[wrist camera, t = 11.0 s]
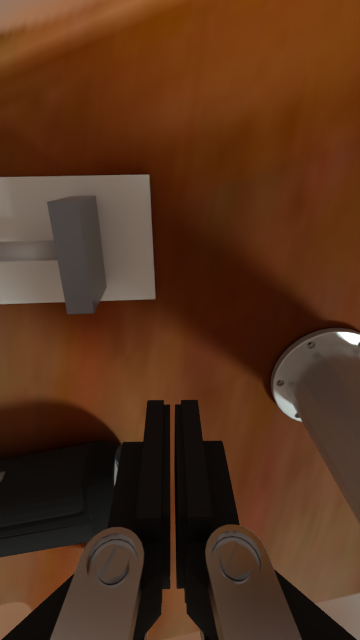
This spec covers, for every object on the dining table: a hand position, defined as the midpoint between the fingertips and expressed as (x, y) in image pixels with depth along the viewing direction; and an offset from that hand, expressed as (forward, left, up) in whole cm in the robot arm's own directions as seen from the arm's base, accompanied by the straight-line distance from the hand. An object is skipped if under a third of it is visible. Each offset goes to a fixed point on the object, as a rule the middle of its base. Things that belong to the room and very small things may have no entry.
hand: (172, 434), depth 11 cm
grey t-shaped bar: (+10, -2, -20) cm, 23 cm away
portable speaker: (+18, +26, -22) cm, 39 cm away
